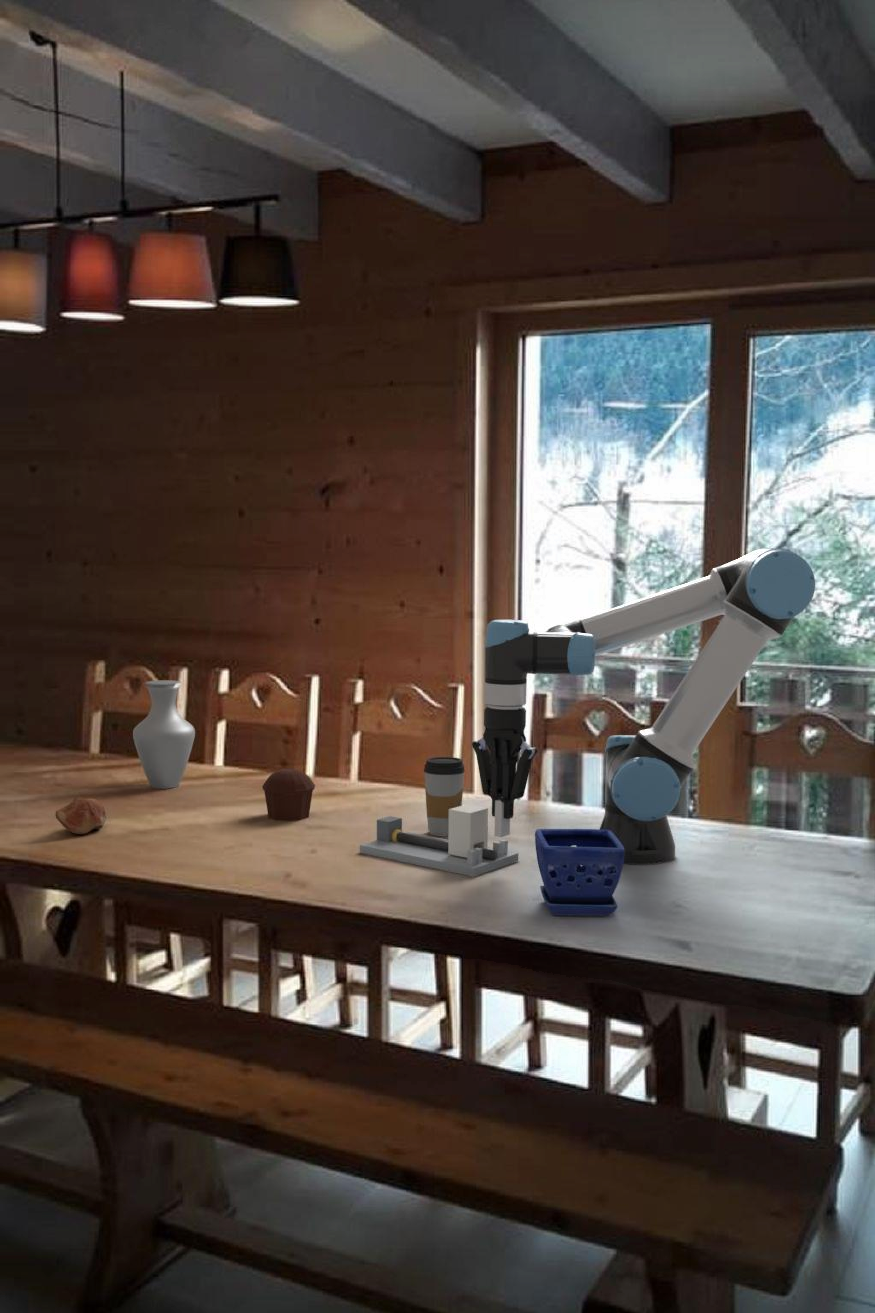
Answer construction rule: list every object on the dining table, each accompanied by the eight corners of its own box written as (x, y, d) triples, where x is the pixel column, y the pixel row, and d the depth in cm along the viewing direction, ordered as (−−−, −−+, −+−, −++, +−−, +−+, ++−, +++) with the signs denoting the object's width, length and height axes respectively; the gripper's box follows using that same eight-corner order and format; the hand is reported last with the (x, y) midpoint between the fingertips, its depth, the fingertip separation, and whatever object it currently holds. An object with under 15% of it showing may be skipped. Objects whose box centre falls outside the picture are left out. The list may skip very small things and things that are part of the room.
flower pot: (610, 897, 220) (612, 827, 219) (624, 920, 207) (626, 847, 206) (532, 897, 220) (533, 827, 219) (541, 921, 207) (542, 847, 205)
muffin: (321, 820, 276) (321, 773, 275) (270, 824, 272) (270, 776, 271) (306, 808, 287) (306, 763, 286) (256, 812, 283) (256, 766, 282)
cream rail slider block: (487, 852, 242) (487, 808, 241) (470, 858, 238) (470, 813, 237) (465, 848, 245) (466, 804, 244) (448, 854, 241) (448, 809, 240)
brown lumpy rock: (60, 824, 255) (64, 777, 260) (38, 837, 260) (42, 791, 265) (116, 838, 263) (119, 793, 268) (94, 851, 268) (97, 806, 273)
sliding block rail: (518, 861, 243) (518, 832, 243) (473, 876, 232) (473, 846, 232) (406, 839, 260) (406, 811, 259) (359, 852, 249) (359, 824, 248)
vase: (131, 782, 315) (129, 679, 312) (191, 779, 319) (190, 677, 317) (136, 793, 301) (134, 686, 299) (199, 790, 305) (197, 684, 303)
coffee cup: (460, 838, 260) (460, 764, 259) (419, 836, 262) (419, 762, 260) (467, 829, 268) (468, 757, 267) (427, 827, 270) (428, 755, 269)
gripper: (547, 707, 233) (543, 837, 235) (487, 700, 241) (485, 826, 243) (523, 712, 227) (520, 845, 229) (463, 704, 235) (460, 833, 237)
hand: (502, 835), depth 236 cm, fingers closed
